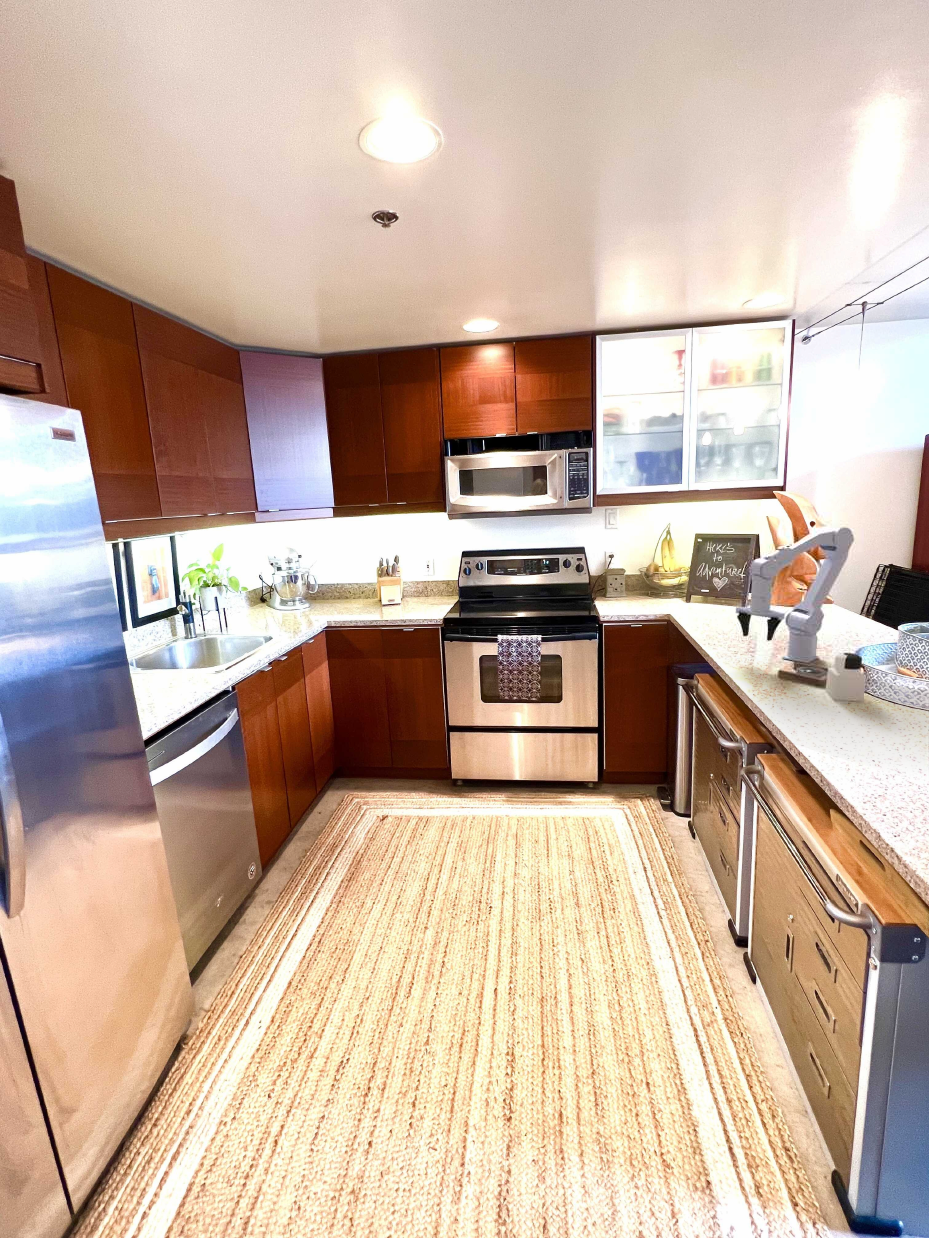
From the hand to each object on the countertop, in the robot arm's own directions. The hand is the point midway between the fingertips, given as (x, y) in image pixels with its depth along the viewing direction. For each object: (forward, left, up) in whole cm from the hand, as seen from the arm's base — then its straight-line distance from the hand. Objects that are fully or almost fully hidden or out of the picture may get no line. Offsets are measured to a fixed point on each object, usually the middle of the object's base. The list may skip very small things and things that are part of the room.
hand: (757, 637), depth 187 cm
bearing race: (+3, +18, -9) cm, 20 cm away
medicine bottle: (+13, +30, -9) cm, 34 cm away
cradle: (+3, +17, -8) cm, 19 cm away
